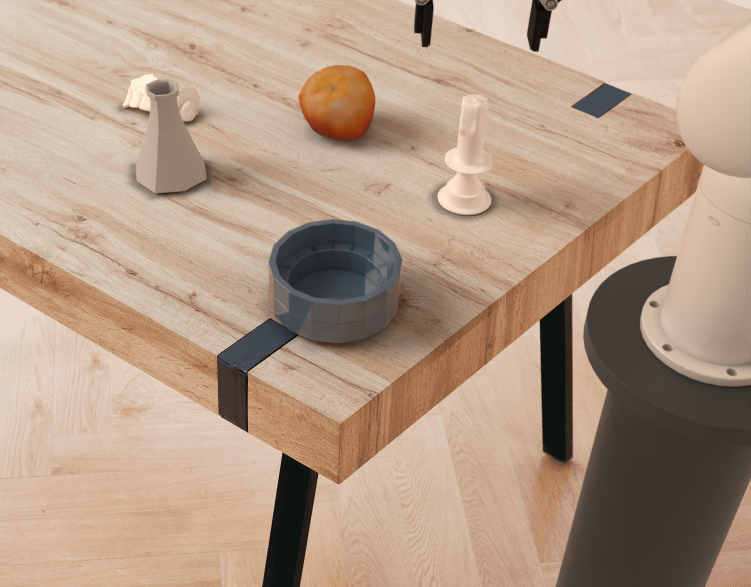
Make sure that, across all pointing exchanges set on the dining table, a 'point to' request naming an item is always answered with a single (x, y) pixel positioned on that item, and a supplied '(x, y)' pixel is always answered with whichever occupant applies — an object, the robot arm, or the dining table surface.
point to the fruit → (338, 102)
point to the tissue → (139, 98)
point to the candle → (468, 161)
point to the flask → (167, 144)
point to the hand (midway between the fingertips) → (478, 42)
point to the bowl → (335, 280)
